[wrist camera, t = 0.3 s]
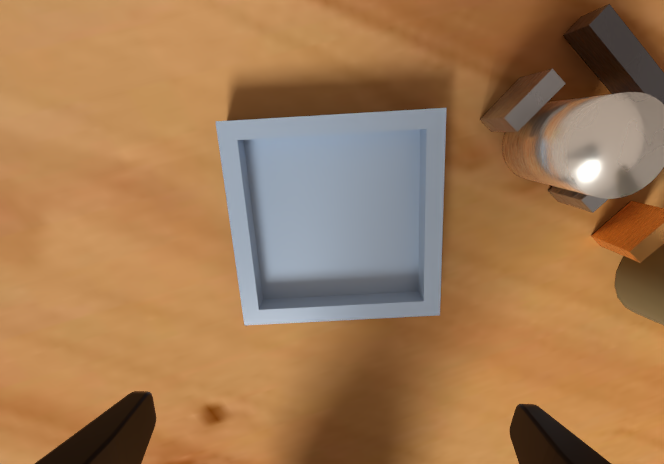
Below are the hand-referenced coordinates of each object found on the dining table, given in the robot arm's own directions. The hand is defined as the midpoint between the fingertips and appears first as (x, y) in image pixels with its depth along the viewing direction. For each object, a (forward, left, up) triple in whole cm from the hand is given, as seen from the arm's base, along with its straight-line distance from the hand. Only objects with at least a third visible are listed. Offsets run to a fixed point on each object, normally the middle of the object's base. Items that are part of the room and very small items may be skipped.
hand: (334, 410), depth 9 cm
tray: (+1, 0, -14) cm, 14 cm away
